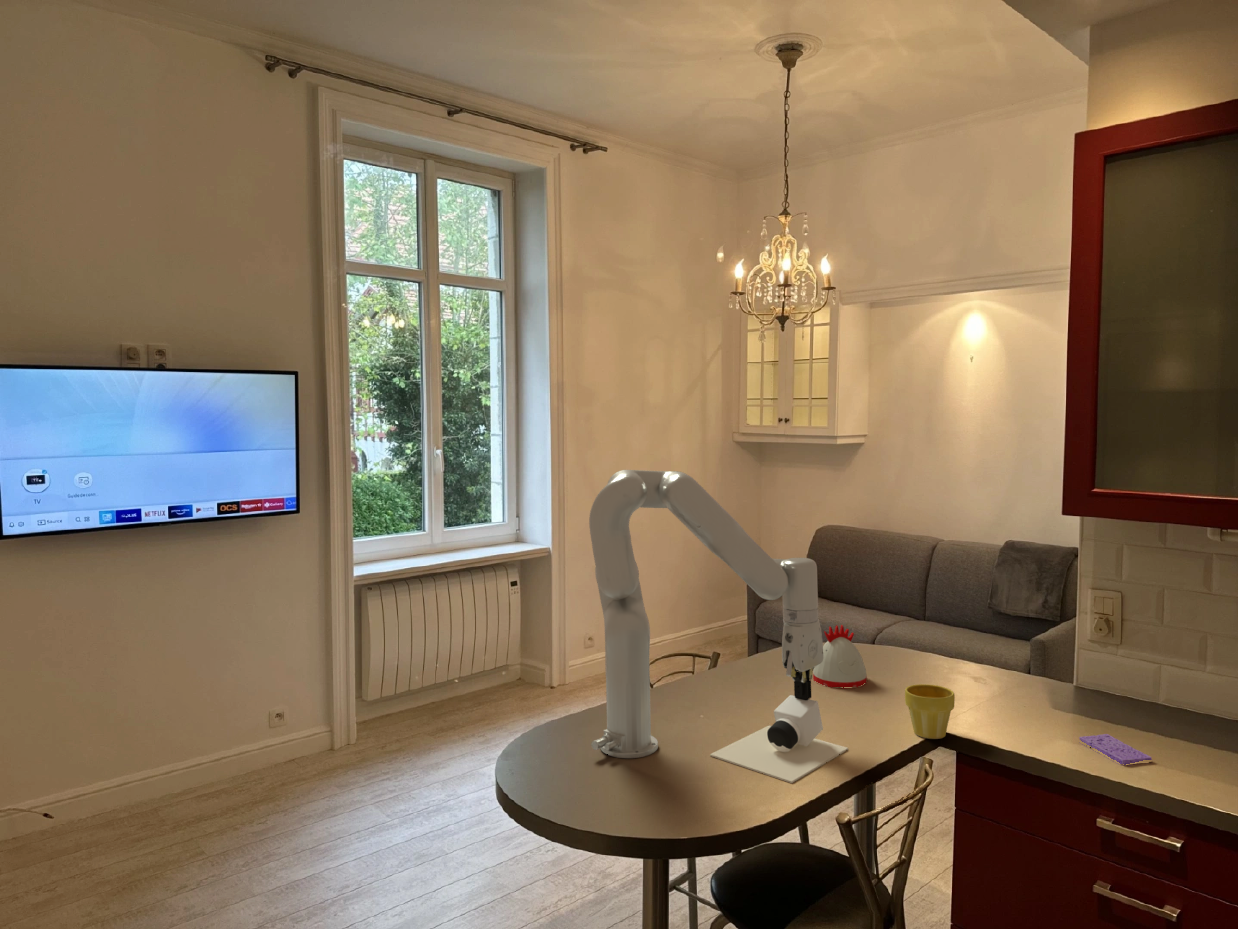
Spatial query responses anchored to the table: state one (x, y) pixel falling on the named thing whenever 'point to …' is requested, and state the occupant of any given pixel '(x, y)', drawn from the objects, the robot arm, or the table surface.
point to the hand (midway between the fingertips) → (802, 698)
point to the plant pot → (929, 709)
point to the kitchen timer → (840, 661)
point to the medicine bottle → (795, 724)
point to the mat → (778, 756)
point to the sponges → (1115, 749)
